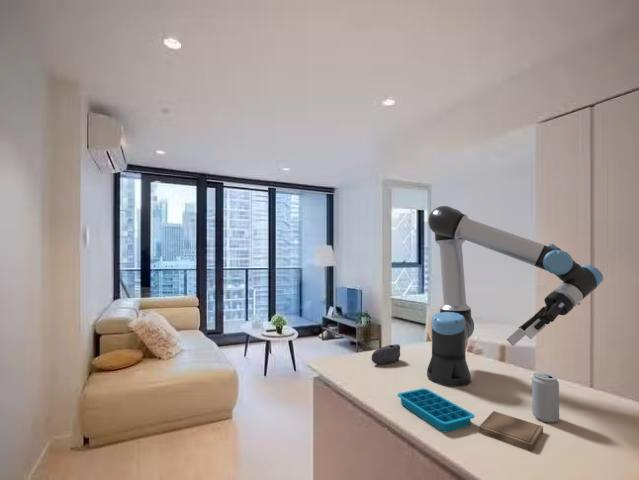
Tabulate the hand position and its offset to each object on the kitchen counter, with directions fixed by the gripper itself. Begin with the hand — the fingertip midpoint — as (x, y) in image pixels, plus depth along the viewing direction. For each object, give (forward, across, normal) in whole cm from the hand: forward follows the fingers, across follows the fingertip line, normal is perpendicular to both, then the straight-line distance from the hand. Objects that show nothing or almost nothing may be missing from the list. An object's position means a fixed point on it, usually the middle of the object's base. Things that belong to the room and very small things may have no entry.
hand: (518, 339), depth 110 cm
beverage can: (+13, -4, -18) cm, 23 cm away
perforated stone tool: (+35, +34, +21) cm, 53 cm away
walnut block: (+25, -13, -13) cm, 31 cm away
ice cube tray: (+38, -5, 0) cm, 38 cm away
